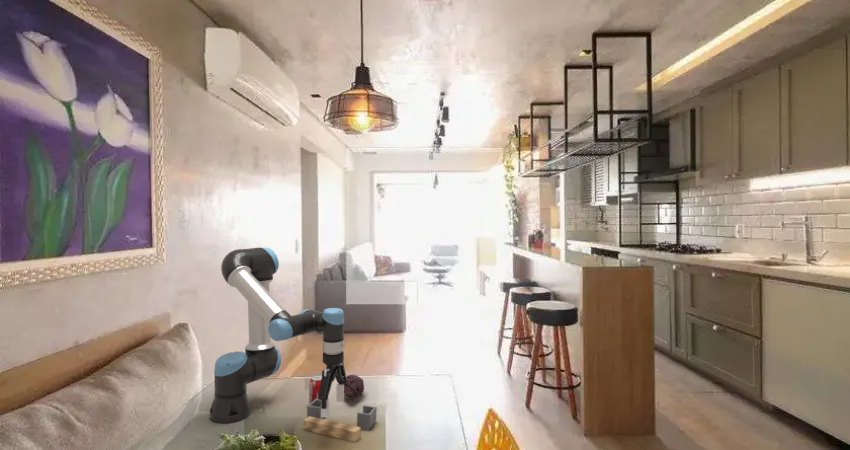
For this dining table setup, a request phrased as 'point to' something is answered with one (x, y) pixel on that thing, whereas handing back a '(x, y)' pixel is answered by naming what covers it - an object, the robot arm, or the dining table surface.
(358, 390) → the pine cone
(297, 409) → the dining table surface
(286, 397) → the dining table surface
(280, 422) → the dining table surface
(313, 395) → the soda can
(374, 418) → the end caps
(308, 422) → the slat
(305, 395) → the dining table surface
